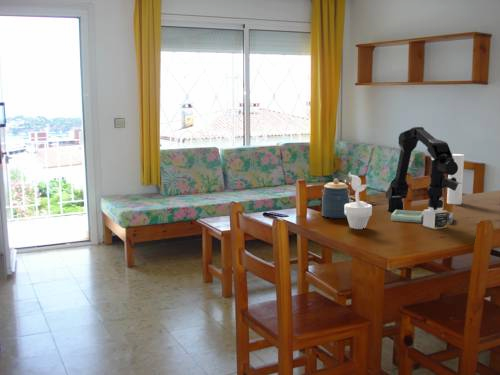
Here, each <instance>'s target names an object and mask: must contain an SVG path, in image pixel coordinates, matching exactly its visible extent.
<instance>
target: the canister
mask: <svg viewBox="0 0 500 375" xmlns="http://www.w3.org/2000/svg"><path fill="white" fill-rule="evenodd" d="M323 188H324V189H322V190H321V193H322V197H321V215H322V217H323V216H324V217H323V218H326V217H329V218H328V219H333V218H341V219H347V218H346V217H347V216H346V215H345V214H344V205H345V204H348V203H351V202H350V200H351V198H350V193H351V191H350V190H349V189H348V188H349V185H347V183H346V182H340V180H339V178H334V179H333V182H332V181H331V182H327V183H326V184H324V185H323Z"/></svg>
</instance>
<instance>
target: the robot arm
mask: <svg viewBox="0 0 500 375" xmlns="http://www.w3.org/2000/svg"><path fill="white" fill-rule="evenodd" d="M419 142H421V143H422V144H423V145H424V146H426V148H427V150H426V151H427V152H428V153H429V155H430V157H429V158H428V160H429V161H430V174H429V180H430V181H429V187H428V188H427V190H426V195H427V196H428V197H429V200H430V201H431V203H432V206H433V209H434V210H437V206H438V202H439V199H441V198H442V197H443V196H444V193H445V192H446V190H447V189H448V188H450V189H452V190H454V191H455V190H456V188H457V186H458V184H459V183H458V182H456V178H454V177H452V178H451V179H448V177H447V175H454V174H455V173H456V172H457V171H458V165H457V163H456V162H454V158H453V157H452V154H453V153H452V151H451V149H450V146H449V144H448V143H447V142H446V141H444V140H441V139H437V138H435V137H434V136H432V134H430V133H429V132H428V131H427V130H425V128H424V127H422V126H414V127H413V126H412V127H411V128H410V129H407V130H404V131H402V132H401V133H399V135H398V145H399V146H398V147H399V149H400V151H399V157H398V162H397V167H396V173H395V177H394V178H393V179H392V180H391V181H390V184H389V187H388V189H387V190H386V192H385V195H384V196H385V198H386V199H388V209H387V212H392V213H393V212H394V211H395V210H404V209H405V200H404V199H407V196H408V192H409V187H410V185H409V183H408V181H407V176H408V171H409V166H410V161H411V157H412V156H411V155H412V152H413V151H414V150H415V148H416V147H417V146H418V143H419Z"/></svg>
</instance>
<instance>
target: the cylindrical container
mask: <svg viewBox="0 0 500 375" xmlns="http://www.w3.org/2000/svg"><path fill="white" fill-rule="evenodd" d="M452 157H453V158H454V162H456V163H457V165H458V171H457V172H456V173H455V174H454V175H448V174H447V175H448V176H447V178H448V179H451V178H452V177H454V178H456V182H458V183H459V184H458V186H457V188H456V190H455V191H454V190H452V189H450V188H448V187H447V191H446V192H447V193H446V194H447V196H446V204H448V205H462V202H463V201H462V200H463V183H464V181H463V180H464V167H465V166H464V165H465V154H463V153H462V154H461V153H452Z"/></svg>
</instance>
